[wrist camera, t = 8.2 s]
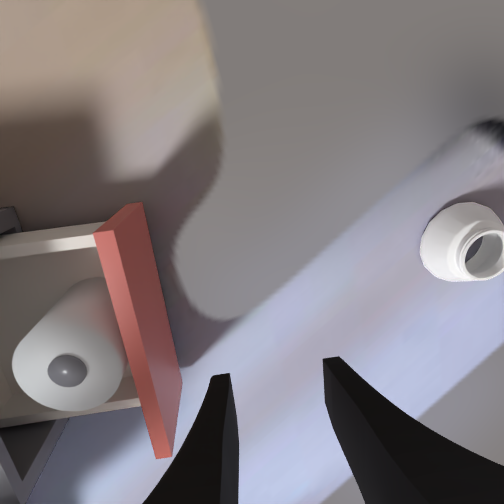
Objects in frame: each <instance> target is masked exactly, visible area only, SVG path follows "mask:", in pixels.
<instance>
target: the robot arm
mask: <svg viewBox="0 0 504 504" xmlns="http://www.w3.org/2000/svg"><path fill="white" fill-rule="evenodd" d="M323 374H324V393H325V404H326V407H327V410H328V414H329V417H330V420H331V423H332V426H333V429H334V432H335V434H336V436H337V439H338V441H339V443H340V445H341V448H342V450H343V452H344V455H345V457H346V459H347V461H348V464H349V466H350V468H351V470H352V473H353V475H354V477H355V479H356V482H357V484H358V486H359V489H360V491H361V493H362V496H363V499H364V501H365V504H504V466H502V465H500V464H497V463H495V462H493V461H491V460H488V459H486V458H484V457H482V456H480V455H478V454H476V453H474V452H471V451H469V450H467V449H465V448H464V447H462V446H460V445H458V444H456V443H454V442H452V441H450V440H448V439H447V438H445V437H443V436H441V435H439V434H438V433H436V432H434V431H432V430H431V429H429V428H428V427H426V426H424V425H423V424H421V423H420V422H418V421H417V420H415V419H414V418H412V417H411V416H409V415H408V414H406V413H405V412H403V411H402V410H401V409H399V408H398V407H397V406H395V405H394V404H393V403H391V402H390V401H389V400H388V399H386V398H385V397H384V396H383V395H381V394H380V393H379V392H378V391H377V390H375V389H374V388H373V387H372V386H371V385H369V384H368V383H367V382H366V381H365V380H364V379H363V378H362V377H361V376H359V375H358V374H357V373H356V372H355V371H354V370H353V369H352V368H351V367H350V366H349V365H348V364H347V363H346V362H345V361H344V360H343V359H341V358H340V357H339V356H338V357H332V358H325V359H323ZM238 483H239V437H238V425H237V415H236V409H235V403H234V396H233V390H232V384H231V378H230V373H226V374H220V375H213V376H212V378H211V379H210V383H209V387H208V390H207V393H206V395H205V398H204V401H203V403H202V406H201V408H200V410H199V413H198V415H197V417H196V419H195V422H194V424H193V426H192V428H191V430H190V431H189V433H188V435H187V437H186V439H185V441H184V443H183V445H182V447H181V448H180V450H179V452H178V454H177V455H176V457H175V458H174V460H173V462H172V463H171V465H170V466H169V468H168V469H167V471H166V472H165V474H164V475H163V477H162V478H161V480H160V481H159V483H158V484H157V485H156V487H155V488H154V489H153V491H152V492H151V493H150V495H149V496H148V497H147V499H146V500H145V501H144V502H143V503H142V504H238Z"/></svg>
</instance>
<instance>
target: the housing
mask: <svg viewBox="0 0 504 504" xmlns="http://www.w3.org/2000/svg"><path fill="white" fill-rule="evenodd" d="M21 232H22V229H21V226H20V223H19V220H18V218H17V215H16V212H15V209H14V207H6V208H0V235H6V234H14V233H21ZM69 418H70V417H68V418H62V419H55V420H49V421H42V422H36V423H29V424H23V425H16V426H10V427H3V428H0V504H26V502H27V500H28V498H29V496H30V494H31V492H32V490H33V488H34V486H35V484H36V482H37V480H38V478H39V476H40V474H41V472H42V470H43V468H44V466H45V464H46V463H47V461H48V459H49V457H50V455H51V453H52V451H53V449H54V447H55V445H56V443H57V441H58V439H59V437H60V435H61V433H62V431H63V429H64V427H65V425H66V423H67V421H68V420H69Z"/></svg>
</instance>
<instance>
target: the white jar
mask: <svg viewBox="0 0 504 504" xmlns="http://www.w3.org/2000/svg"><path fill="white" fill-rule="evenodd" d="M481 236H483V240H482V244H481V246H480V248H479V250H478V251H477V253H476V254H475V255H474V256H473V257H472V258H471V259H470V260H469V261H467V262H465V256H466V253H467V251H468V249H469V247H470V246H471V244H472V243H473V242H474V241H475V240H477V239H478V238H479V237H481ZM420 256H421V259H422V261H423V264H424V267H425V268H427V269H428V270H429V271H430V272H431V273H432V274H433V275H434V276H435V277H437V278H440V279H443V280H447V281H450V282H452V281H474V280H478V281H483V280H489V279H492V278H494V277H496V276H498V275H499V274H500V273H502V272H503V271H504V225H503V223H502V222H501V220H500V218H499V217H498V216H497V215H496V214H495V213H494V212H493V210H492V209H491V208H489V207H486V206H483V205H481V204H478V203H475V202H466V203H456V204H454V205H452V206H450V207H448V208H446V209H444V210H442V211H441V212H440V213H439V214H438V215H436V216H435V217H434V218H433V219H432V220H431V221H430V222H429V224H428V226H427V228H426V230H425V232H424V234H423V236H422V238H421V245H420Z"/></svg>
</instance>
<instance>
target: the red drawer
mask: <svg viewBox="0 0 504 504" xmlns="http://www.w3.org/2000/svg"><path fill="white" fill-rule="evenodd" d="M93 277H104V278H105V279H106V283H107V286H108V290H109V293H110V297H111V300H112V304H113V307H114V311H115V315H116V318H117V322H118V325H119V329H120V332H121V336H122V340H123V343H124V347H125V350H126V354H127V357H128V363H127V366H126V369H125V371H124V374H123V377H122V379H121V382H120V384H119V387H118V389H117V390H116V392H115V393H114V394H113V396H112V397H111V398H110V399H108V400H107V401H106V402H104V403H103V404H101V405H99V406H97V407H94V408H91V409H88V410H83V411H62V410H57V409H53V408H50V407H47V406H44V405H42V404H40V403H38V402H37V401H35V400H33V399H32V398H31V397H29V396H28V395H27V394H26V393H25V392H24V391H23V390H22V389H21V387H20V386H19V384H18V383H17V381H16V379H15V376H14V373H13V368H12V360H13V355H14V352H15V350H16V348H17V346H18V345H19V343H20V342H21V341H22V340H23V339H24V337H25V336H26V335H27V334H28V333H29V332H30V331H31V330H32V329H33V328H34V327H35V325H36V324H37V323H38V322H39V321H40V320H41V319H42V318H43V317H44V316H45V315H46V313H47V312H48V311H49V310H50V309H51V308H52V307H53V306H54V305H55V304H56V303H57V301H58V300H59V299H60V298H61V297H62V296H63V295H64V294H65V293H66V292H67V291H68V289H69V288H70V287H72V286H73V285H74V284H76V283H77V282H79V281H82V280H84V279H88V278H93ZM181 389H182V378H181V374H180V369H179V365H178V360H177V356H176V351H175V347H174V342H173V338H172V333H171V329H170V324H169V320H168V315H167V311H166V306H165V302H164V297H163V293H162V288H161V284H160V280H159V275H158V271H157V266H156V262H155V257H154V253H153V248H152V244H151V239H150V235H149V230H148V226H147V221H146V217H145V212H144V208H143V203H142V202H137V203H130V204H126V205H125V206H124V207H123V208H122V209H120V210H119V211H118V212H117V213H116V214H115V215H113V216H112V217H111V218H110V219H109V220H107V221H106V222H98V223H90V224H83V225H75V226H67V227H60V228H52V229H44V230H37V231H29V232H21V233H14V234H6V235H0V428H3V427H10V426H16V425H23V424H29V423H36V422H42V421H49V420H55V419H62V418H68V417H74V416H81V415H87V414H94V413H100V412H107V411H113V410H120V409H126V408H133V407H139V406H141V407H142V411H143V414H144V418H145V421H146V425H147V429H148V432H149V436H150V439H151V443H152V446H153V450H154V453H155V457H156V459H161V458H167V457H172V453H173V446H174V439H175V432H176V425H177V417H178V410H179V403H180V396H181Z"/></svg>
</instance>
